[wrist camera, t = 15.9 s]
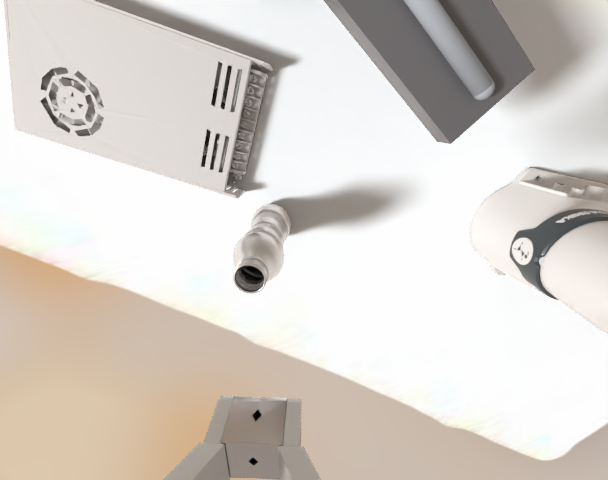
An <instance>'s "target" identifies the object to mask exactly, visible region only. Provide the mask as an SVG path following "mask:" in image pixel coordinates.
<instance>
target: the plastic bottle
mask: <svg viewBox="0 0 608 480" xmlns="http://www.w3.org/2000/svg"><path fill="white" fill-rule="evenodd" d="M290 229H291V222H290V218H289V215H288V213H287V212H286V211H285V210H284V209H283V208H282V207H280V206H278V205H275V204H268V205H265V206H263V207H261V208H259V209H258V210H257V211H256V212H255V214H254V216H253V219H252V226H251V229H250V230H249V232H248V233H247V234H245V235H244V236H243V237H242V238H241V239H240V240H239V241H238V243H237V244H236V246H235V248H234V264H235V267H236V270H235V272H234V282H235V284H236V286H237V287H238V288H239V289H240V290H242V291H244V292H246V293H256V292H259V291H260V290H262V288H263V287H264V286H265V284H266V282H267V281H269V280H271V279H272V278H274V277H275V276H276V275H277V274H278V273H279V271H280V270H281V268H282V265H283V258H284V254H283V243H284V240H285V239H286V238H287V236H288V234H289V233H290Z"/></svg>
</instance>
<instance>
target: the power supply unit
mask: <svg viewBox="0 0 608 480" xmlns="http://www.w3.org/2000/svg"><path fill="white" fill-rule="evenodd" d="M4 7H5V18H6V30H7V41H8V53H9V64H10V76H11V87H12V99H13V111H14V122H15V128H16V130H18V131H22V132H25V133H28V134H31V135H34V136H38V137H41V138H44V139H47V140H51V141H54V142H57V143H60V144H63V145H67V146H70V147H73V148H76V149H80V150H83V151H86V152H89V153H92V154H96V155H99V156H102V157H105V158H109V159H112V160H115V161H118V162H121V163H125V164H128V165H131V166H134V167H138V168H141V169H144V170H147V171H150V172H154V173H157V174H160V175H163V176H167V177H170V178H173V179H176V180H179V181H183V182H186V183H189V184H192V185H196V186H199V187H202V188H205V189H209V190H212V191H215V192H218V193H221V194H225V195H228V196H231V197H234V198H239V197H240V196H241V195H242V194H243V193H244V191H245V190H242V189H238V190H237V191H235V192H234V193H233V191H234V190H235V187H234V186H232V187H231V188H230V189H228V190H226V189H227V188H228V186H229V185H227V181H228V176H229V172H233V173H234V179H236V180H240V181H241V179H242V175H244V174H246V167H247V164H248V163H247V162H248V158H249V155H250V149H251V145H252V144H253V143H252V141H253V136H254V134H255V133H254V132H255V128H256V123H257V119H258V115H259V110H260V106H261V101H262V97H263V93H264V90H265V89H264V88H265V84H266V80H267V79H268V75H267V74H265V73H262V72H260V71H257V70H255V69H252V68H251V65H253V66H254V63H255V64H256V65H257V66H258V67H260V68H262V66H263V67H264V68H265V69H266V70H269V71H272V72H273V68H272V67H271V66H270V64H269V63H266V62H264V61H261V60H258V59H255V58H253V57H250V56H247V55H244V54H241V53H239V52H236V51H233V50H230V49H228V48H225V47H222V46H219V45H216V44H214V43H211V42H208V41H205V40H203V39H200V38H197V37H194V36H191V35H189V34H186V33H183V32H180V31H178V30H175V29H172V28H169V27H166V26H164V25H161V24H158V23H155V22H153V21H150V20H147V19H144V18H141V17H139V16H136V15H133V14H130V13H128V12H125V11H122V10H119V9H116V8H114V7H111V6H108V5H105V4H103V3H100V2H97V1H94V0H4ZM218 63H220V64H218ZM221 64H222V65H221ZM228 66H232V70H231V75H230V81H229V86H228V92H227V97H226V100H225V97H224V96H223V93H224V94H226V93H225V90H224V87H225V81H226V75H227V70H228ZM237 72H238V73H237ZM236 77H237V78H236ZM215 89H217V97H216V102H215V107H214V106H213V105H211V102H212V96H213V90H215ZM221 102H223V103H224V104H225V109H222V107H221ZM225 102H226V103H225ZM207 129H208V130H209V132H211V133H210V139H209V145H206V144H205V138H206V132H207ZM218 133H219V134H218ZM217 137H218V141H217ZM216 141H217V146H216V147H217V148H216V151H215V150H214V149H215V145H216ZM205 155H207V157H206V162H205V167H201V163H202V157H203V156H205ZM213 155H214V156H215V162H214V169H213V170H212V169H210V165H211V161H212V157H213ZM219 169H221V170H223V172H222V173H221V172H219ZM239 174H240V175H239ZM234 183H237V182H235V181H233V184H234Z"/></svg>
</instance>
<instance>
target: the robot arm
mask: <svg viewBox="0 0 608 480" xmlns="http://www.w3.org/2000/svg"><path fill="white" fill-rule="evenodd" d="M537 176H539V177H538V179H536V177H537ZM470 239H471V243H472V245H473V247H474V249H475V250H476V252H477V253H478V254H479V255H481V256H482V257H483V258H485V259H486V260H487V261H488V262H489V264H490V267H491V269H492V270H493V271H494V272H495V273H497V274H498V275H506V274H507V275H509V276H510V277H512V278H513V279H515V280H517V281H518V282H520V283H522V284H523V285H525V286H527V287H535V288H536V289H537V290H539V291H540V292H542V293H544V294H546V295H547V296H549V297H551V298H554V299H557V300H560V301H561V302H562V303H564V304H565V305H567V306H568V307H569V308H571V309H572V310H574V311H575V312H576V313H578V314H579V315H580V316H582V317H583V318H585V319H586V320H587V321H589V322H590V323H592V324H593V325H594V326H596V327H597V328H599V329H600V330H602V331H604V332H606V333H608V185H607V184H603V183H599V182H594V181H590V180H585V179H581V178H576V177H572V176H567V175H563V174H558V173H554V172H549V171H545V170H540V169H536V168H528V169H526V170H524V171H523V172H522V173H521V174H520V175H518V177H517V178H516V179H515V180H514V181H513V182H512V183H510V184H509V185H507V186H505V187H503V188H501V189H500V190H498V191H496V192H495V193H493V194H492V195H491V196H489V197H488V198H487V199H486V200H485V201H484V202H483V203H482V204H481V206H480V207H479V208H478V210H477V211H476V213H475V215H474V217H473V220H472V223H471V227H470ZM301 401H302V400H301V399H299V398H297V399H296V398H295V399H293V398H266V397H262V398H252V397H235V396H221V397H220V398H219V400H218V402H217V405H216V408H215V411H214V414H213V417H212V420H211V422H210V425H209V428H208V431H207V434H206V437H205V440H204V443H199V444H198V445H197V446H196V447H195V448H194V449H193V450H192V451H191V452H190V453H189V454H188V455H187V456H186V457H185V458H184V459H183V460H182V461H181V462H180V463H179V464H178V465H177V466H176V467H175V468H174V469H173V470H172V471H171V472H170V473H169V474H168V475H167V476H166V477H165V478H164V479H163V480H230V478H263V479H277V480H321V479H320V477H319V475H318V473H317V471H316V469H315V467H314V465H313V463H312V462H311V460H310V458H309V456H308V454H307V452H306V450H305V448H304V447H302V446H301V405H302V404H301V403H302V402H301Z"/></svg>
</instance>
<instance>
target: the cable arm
mask: <svg viewBox="0 0 608 480" xmlns="http://www.w3.org/2000/svg"><path fill="white" fill-rule="evenodd" d="M324 1H325V3H326V4H327V5H328V6H329V8H330V9H331V10H332V11H333V13H334V14H335V15H336V16H337V18H338V19H339V20H340V21H341V23H342V24H343V25H344V26H345V28H346V29H347V30H348V31H349V33H350V34H351V35H352V36H353V37H354V39H355V40H356V41H357V42H358V44H359V45H360V46H361V47H362V49H363V50H364V51H365V52H366V54H367V55H368V56H369V57H370V59H371V60H372V61H373V62H374V64H375V65H376V66H377V67H378V69H379V70H380V71H381V72H382V74H383V75H384V76H385V77H386V79H387V80H388V81H389V82H390V83H391V85H392V86H393V87H394V88H395V90H396V91H397V92H398V93H399V95H400V96H401V97H402V98H403V100H404V101H405V102H406V103H407V105H408V106H409V107H410V108H411V110H412V111H413V112H414V113H415V115H416V116H417V117H418V118H419V120H420V121H421V122H422V123H423V125H424V126H425V127H426V128H427V130H428V131H429V132H430V133H431V134H432V136H433V137H434V138H435V139H436V141H437V142H444V143H450V144H451V143H452V142H453V141H454V140H455V139H457V138H458V137H459V136H460V135H461V134H462V133H463V132H465V131H466V130H467V129H468V128H469V127H470V126H471V125H472V124H474V123H475V122H476V121H477V120H478V119H479V118H480V117H482V116H483V115H484V114H485V113H486V112H487V111H488V110H489V109H491V108H492V107H493V106H494V105H495V104H496V103H497V102H499V101H500V100H501V99H502V98H503V97H504V96H505V95H506V94H508V93H509V92H510V91H511V90H512V89H513V88H514V87H516V86H517V85H518V84H519V83H520V82H521V81H522V80H523V79H525V78H526V77H527V76H528V75H529V74H530V73H531V72H533V71H534V70H535V69H534V67H533V65H532V64H531V62H530V61H529V59H528V58H527V56H526V54H525V53H524V51H523V50H522V48H521V46H520V45H519V43H518V42H517V40H516V38H515V37H514V35H513V34H512V32H511V31H510V29H509V27H508V26H507V24H506V23H505V21H504V19H503V18H502V16H501V15H500V13H499V12H498V10H497V8H496V7H495V5H494V4H493V2H492V0H324Z"/></svg>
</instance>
